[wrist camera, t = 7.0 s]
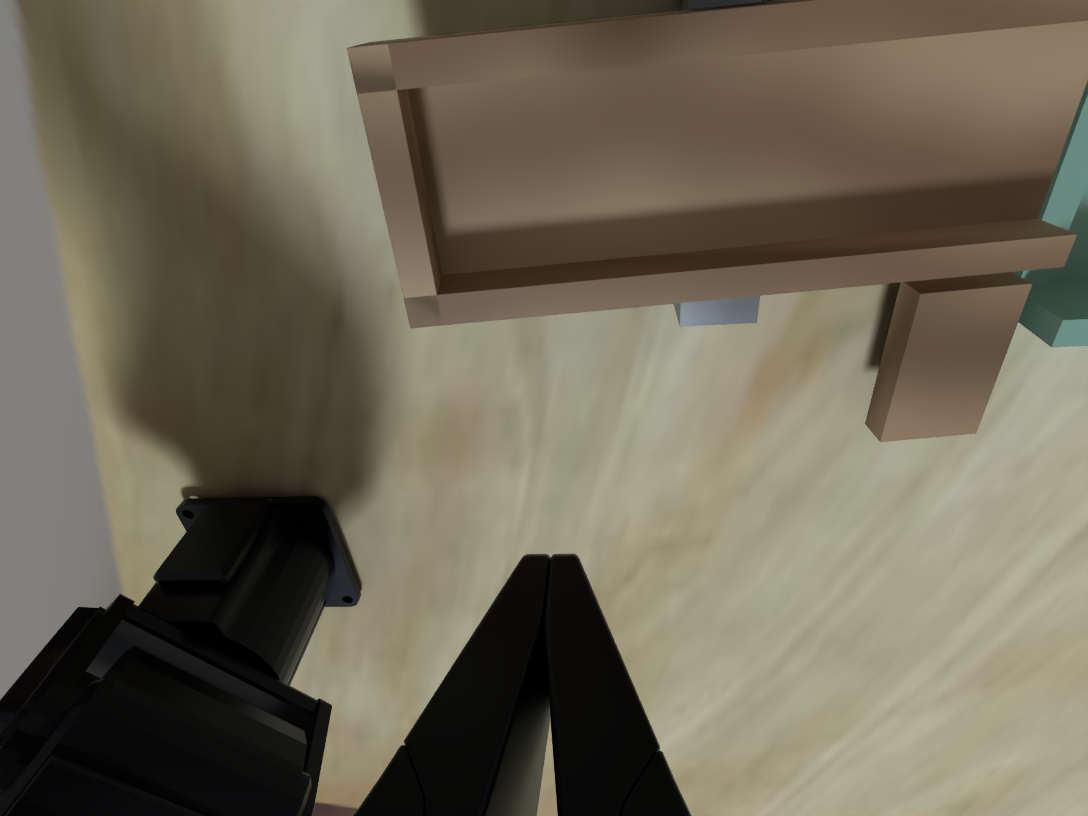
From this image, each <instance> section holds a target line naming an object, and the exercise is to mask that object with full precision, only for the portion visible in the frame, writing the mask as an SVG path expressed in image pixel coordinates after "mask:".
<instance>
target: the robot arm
mask: <svg viewBox="0 0 1088 816" xmlns="http://www.w3.org/2000/svg"><path fill="white" fill-rule="evenodd" d="M313 508H315V509H317V510H315V509H313ZM176 513H177V515H178V517H179V519H180V521H181V522H182V524H183V526H184V528H185V530H186V531H187V532H186V533H185V535H184V536H183V537H182V539H181V540H180V541H179V543H178V544H177V545H176V547H175V548H174V549H173V551H172V552H171V553H170V554H169V556H168V557H167V558H166V560H165V561H164V562H163V564H162V565H161V566H160V568H159V569H158V570H157V572H156V573H155V575H154V577H153V578H154V580H155V581H156V583H155V585H154V586H153V587H152V589H151V590H150V591H149V593H148V594H147V595H146V597H145V598H144V599H143V601H142V602H141V603H140V605H139V606H136V605H134V602H135V601H133V600H131V599H129V598H127V597H125V596H124V595H122V594H119V596H118V597H117V598H116V599H115V600H114V601H113V602H112V603H111V604H110V605H109V607H107V609H104V608H102V607H99V608H87V607H78V608H77V609H76V610H75V611H74V613H73V614H72V615H71V616H70V617H69V619H68V620H67V621H66V622H65V623H64V625H63V626H62V627H61V628H60V629H59V630H58V631H57V633H56V634H55V635H54V636H53V638H52V639H51V640H50V641H49V642H48V643H47V645H46V646H45V647H44V648H43V650H41V652H40V653H39V654H38V655H37V656H36V658H35V659H34V660H33V661H32V662H31V664H30V665H29V666H28V667H27V669H26V670H25V671H24V672H23V673H22V674H21V676H20V677H19V678H18V679H17V680H16V682H15V683H14V684H13V685H12V686H11V688H10V689H9V690H8V691H7V693H6V694H5V695H4V696H3V697H2V699H1V700H0V816H311V815H312V811H313V807H314V803H315V798H316V793H317V787H318V781H319V776H320V770H321V765H322V759H323V754H324V748H325V742H326V737H327V731H328V726H329V720H330V715H331V709H332V705H331V704H329V703H327V702H325V701H323V700H321V699H318V700H316V699H314V698H312V697H310V696H308V695H306V694H304V693H302V692H300V691H299V690H297V689H295V688H293V687H291V686H290V684H291V682H292V679H293V677H294V675H295V673H296V670H297V668H298V666H299V664H300V661H301V659H302V657H303V654H304V652H305V650H306V648H307V645H308V643H309V641H310V638H311V636H312V634H313V632H314V629H315V627H316V625H317V623H318V620H319V618H320V616H321V613H322V611H323V609H324V607H351V606H355V605H357V603H358V601H359V599H360V596H361V592H360V590H359V587H358V584H357V582H356V579H355V576H354V574H353V571H352V569H351V566H350V563H349V561H348V558H347V555H346V553H345V550H344V547H343V545H342V542H341V539H340V537H339V534H338V531H337V529H336V526H335V523H334V521H333V518H332V516H331V513H330V510H329V508H328V505H327V503H326V502H325V501H324V500H323V499H321V498H319V497H314V496H307V497H259V498H212V499H186V500H184V501H182V502H181V504H180V505H179V506H178V507H177V509H176ZM550 718H551V731H552V744H553V758H554V771H555V784H556V797H557V811H558V816H691V814H690V812H689V810H688V808H687V805H686V803H685V801H684V799H683V797H682V795H681V793H680V790H679V788H678V786H677V784H676V782H675V780H674V777H673V775H672V773H671V770H670V768H669V766H668V764H667V761H666V759H665V757H664V754H663V752H662V751H660V746H659V743H658V741H657V739H656V736H655V734H654V732H653V729H652V727H651V725H650V722H649V720H648V718H647V715H646V713H645V711H644V708H643V706H642V704H641V701H640V699H639V697H638V694H637V692H636V690H635V687H634V685H633V683H632V680H631V678H630V676H629V673H628V671H627V669H626V666H625V664H624V662H623V659H622V657H621V655H620V652H619V650H618V648H617V645H616V643H615V641H614V638H613V636H612V634H611V631H610V629H609V627H608V624H607V622H606V620H605V617H604V615H603V613H602V610H601V608H600V606H599V603H598V601H597V599H596V596H595V594H594V592H593V589H592V587H591V585H590V582H589V580H588V578H587V575H586V573H585V571H584V568H583V566H582V564H581V562H580V559H579V557H578V556H577V555H576V554H554V555H552V557H550V556H549V555H547V554H527V555H525V556H523V557H522V559H521V560H520V562H519V563H518V565H517V566H516V568H515V569H514V571H513V572H512V574H511V576H510V577H509V579H508V580H507V582H506V583H505V585H504V586H503V588H502V590H501V591H500V593H499V594H498V596H497V597H496V599H495V600H494V602H493V603H492V605H491V607H490V608H489V610H488V611H487V613H486V614H485V616H484V617H483V619H482V621H481V622H480V624H479V625H478V627H477V628H476V630H475V631H474V633H473V635H472V636H471V638H470V639H469V641H468V642H467V644H466V645H465V647H464V649H463V650H462V652H461V653H460V655H459V656H458V658H457V659H456V661H455V663H454V664H453V666H452V667H451V669H450V670H449V672H448V673H447V675H446V676H445V678H444V680H443V681H442V683H441V684H440V686H439V687H438V689H437V690H436V692H435V694H434V695H433V697H432V698H431V700H430V701H429V703H428V704H427V706H426V708H425V709H424V711H423V712H422V714H421V715H420V717H419V718H418V720H417V722H416V723H415V725H414V726H413V728H412V729H411V731H410V732H409V734H408V736H407V737H406V739H405V741H404V743H405V745H402V746H400V747H399V749H398V751H397V752H396V754H395V755H394V757H393V758H392V760H391V762H390V763H389V765H388V766H387V768H386V769H385V771H384V772H383V774H382V775H381V777H380V778H379V780H378V781H377V783H376V784H375V786H374V787H373V788H372V790H371V791H370V793H369V794H368V796H367V797H366V799H365V800H364V802H363V803H362V805H361V806H360V807H359V809H358V810H357V812H356V813H355V814H354V815H353V816H537V809H538V802H539V794H540V787H541V780H542V773H543V766H544V759H545V751H546V744H547V737H548V730H549V723H550Z"/></svg>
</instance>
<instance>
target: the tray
mask: <svg viewBox="0 0 1088 816" xmlns="http://www.w3.org/2000/svg"><path fill="white" fill-rule="evenodd" d="M1038 219H1041V220H1043V221H1045V222H1048V223H1050V224H1053V225H1055V226H1058V227H1060V228H1063V229H1065V230H1067V231H1070V232H1072V233H1075V234H1077V236H1076V239H1075V241H1074V244H1073V246H1072V249H1071V251H1070V254H1069V256H1068V259H1067V261H1066V264H1065V266H1064V267H1059V268H1048V269H1037V270H1027V271H1016V272H1012V273H1014V274H1016V275H1018V276H1020V277H1021V278H1023V279H1025V280H1027V281H1029V282H1031V283H1033V284H1032V286H1031V289H1030V292H1029V294H1028V297H1027V300H1026V302H1025V305H1024V308H1023V310H1022V313H1021V316H1020V318H1019V321H1018V322H1019V323H1020V324H1022V325H1023V326H1024V327H1026V328H1027V329H1028V330H1030V331H1031V332H1032V333H1034V334H1035V335H1036V336H1038V337H1039V338H1040V339H1041V340H1043V341H1044V342H1045V343H1047V344H1048V345H1049V346H1051V347H1067V346H1088V81H1087V84H1086V86H1085V89H1084V92H1083V95H1082V97H1081V100H1080V103H1079V106H1078V109H1077V111H1076V114H1075V117H1074V120H1073V122H1072V125H1071V128H1070V131H1069V134H1068V136H1067V139H1066V142H1065V145H1064V147H1063V150H1062V153H1061V156H1060V159H1059V161H1058V164H1057V167H1056V170H1055V172H1054V175H1053V178H1052V181H1051V184H1050V186H1049V189H1048V192H1047V195H1046V197H1045V200H1044V203H1043V206H1042V209H1041V211H1040V214H1039V217H1038Z"/></svg>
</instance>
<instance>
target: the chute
mask: <svg viewBox="0 0 1088 816" xmlns="http://www.w3.org/2000/svg"><path fill="white" fill-rule="evenodd" d="M347 51H348V56H349V60H350V65H351V69H352V73H353V78H354V82H355V87H356V91H357V95H358V100H359V104H360V108H361V113H362V117H363V122H364V126H365V130H366V135H367V139H368V144H369V148H370V152H371V157H372V161H373V166H374V170H375V174H376V179H377V183H378V188H379V192H380V196H381V201H382V205H383V210H384V214H385V218H386V223H387V227H388V231H389V236H390V240H391V245H392V249H393V253H394V258H395V262H396V267H397V271H398V275H399V280H400V284H401V289H402V293H403V297H404V302H405V306H406V311H407V315H408V319H409V324H410V328H419V327H429V326H440V325H451V324H461V323H472V322H483V321H493V320H504V319H515V318H525V317H536V316H547V315H557V314H568V313H579V312H589V311H600V310H611V309H621V308H632V307H643V306H653V305H664V304H675V303H685V302H696V301H707V300H717V299H728V298H739V297H749V296H760V295H771V294H781V293H792V292H803V291H813V290H824V289H835V288H845V287H856V286H867V285H877V284H888V283H899V282H901V283H900V287H899V291H898V295H897V299H896V303H895V307H894V311H893V315H892V319H891V323H890V327H889V331H888V335H887V339H886V343H885V347H884V351H883V355H882V359H881V363H880V367H879V371H878V375H877V379H876V383H875V387H874V391H873V395H872V399H871V403H870V407H869V411H868V415H867V419H866V423H865V424H866V425H867V427H868V428H869V429H870V430H871V431H872V433H873V434H874V435H875V436H876V437H877V439H878V440H879V441H880V442H885V441H896V440H908V439H919V438H930V437H941V436H952V435H964V434H975V433H976V432H977V430H978V427H979V424H980V422H981V419H982V416H983V414H984V411H985V408H986V406H987V403H988V400H989V398H990V395H991V393H992V390H993V387H994V385H995V382H996V379H997V377H998V374H999V371H1000V369H1001V366H1002V363H1003V361H1004V358H1005V355H1006V353H1007V350H1008V347H1009V345H1010V342H1011V339H1012V337H1013V334H1014V332H1015V329H1016V326H1017V324H1018V321H1019V318H1020V316H1021V313H1022V310H1023V308H1024V305H1025V302H1026V300H1027V297H1028V294H1029V292H1030V289H1031V286H1032V284H1033V283H1031V282H1029V281H1027V280H1025V279H1023V278H1021V277H1020V276H1018V275H1016V274H1014V273H1012V272H1016V271H1027V270H1037V269H1048V268H1059V267H1064V266H1065V264H1066V261H1067V259H1068V256H1069V254H1070V251H1071V249H1072V246H1073V244H1074V241H1075V239H1076V236H1077V234H1075V233H1072V232H1070V231H1067V230H1065V229H1063V228H1060V227H1058V226H1055V225H1053V224H1050V223H1048V222H1045V221H1043V220H1041V219H1038V217H1039V214H1040V211H1041V209H1042V206H1043V203H1044V200H1045V197H1046V195H1047V192H1048V189H1049V186H1050V184H1051V181H1052V178H1053V175H1054V172H1055V170H1056V167H1057V164H1058V161H1059V159H1060V156H1061V153H1062V150H1063V147H1064V145H1065V142H1066V139H1067V136H1068V134H1069V131H1070V128H1071V125H1072V122H1073V120H1074V117H1075V114H1076V111H1077V109H1078V106H1079V103H1080V100H1081V97H1082V95H1083V92H1084V89H1085V86H1086V84H1087V81H1088V0H779V1H769V2H759V3H750V4H740V5H730V6H720V7H710V8H701V9H691V10H681V11H671V12H661V13H652V14H642V15H632V16H622V17H612V18H602V19H593V20H583V21H573V22H563V23H553V24H544V25H534V26H524V27H514V28H504V29H494V30H485V31H475V32H465V33H455V34H445V35H436V36H426V37H416V38H406V39H396V40H386V41H377V42H369V43H365V44H361V45H357V46H353V47H349V48H347Z"/></svg>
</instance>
